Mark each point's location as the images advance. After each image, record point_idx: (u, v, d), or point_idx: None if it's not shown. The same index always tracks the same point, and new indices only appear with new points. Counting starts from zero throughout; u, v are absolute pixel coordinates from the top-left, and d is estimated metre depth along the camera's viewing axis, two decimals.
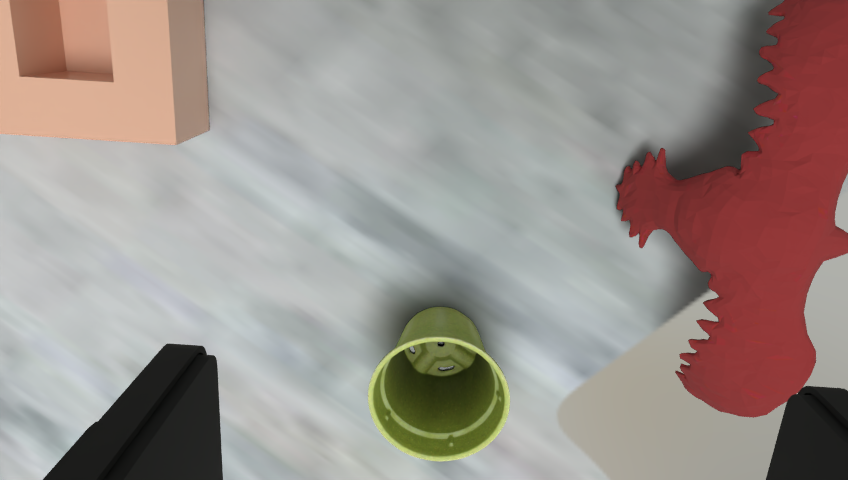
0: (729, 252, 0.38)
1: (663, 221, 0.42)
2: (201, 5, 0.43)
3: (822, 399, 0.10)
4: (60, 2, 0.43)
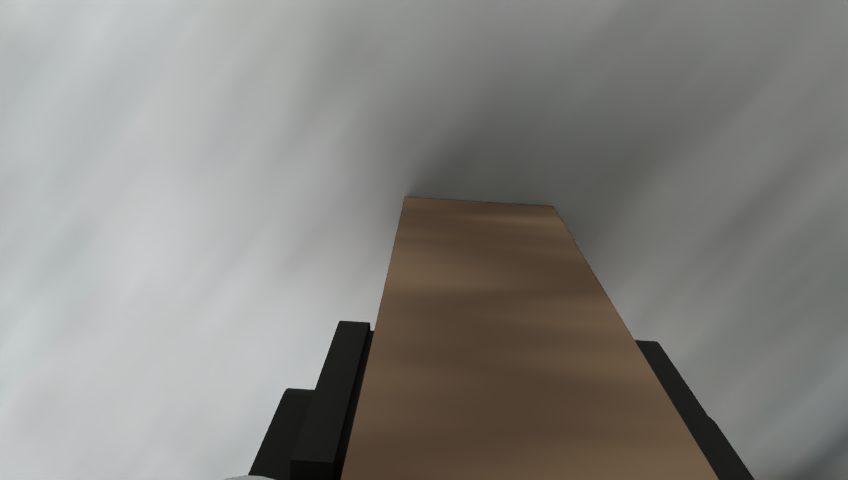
0: None
1: None
2: None
3: None
4: None
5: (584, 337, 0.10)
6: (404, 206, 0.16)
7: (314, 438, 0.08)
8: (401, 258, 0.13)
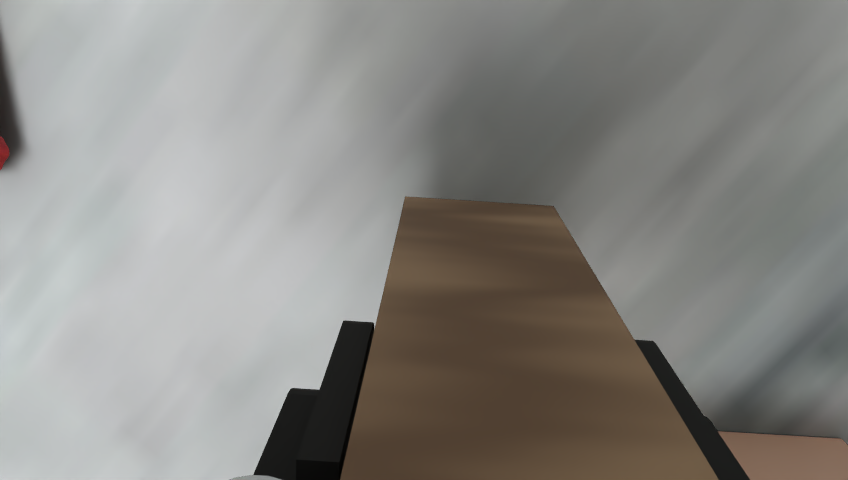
0: None
1: None
2: None
3: None
4: None
5: (584, 337, 0.10)
6: (404, 205, 0.17)
7: (319, 438, 0.08)
8: (401, 257, 0.13)
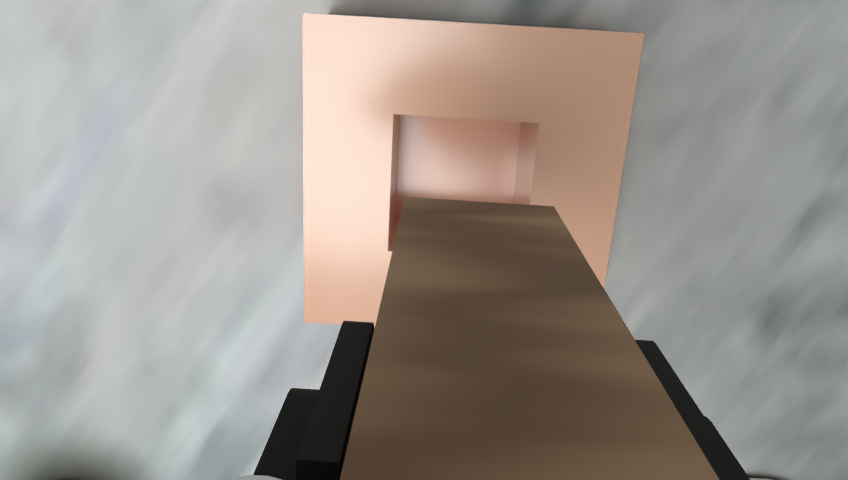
0: None
1: None
2: None
3: None
4: None
5: (585, 338, 0.10)
6: (404, 206, 0.16)
7: (319, 438, 0.08)
8: (401, 258, 0.13)
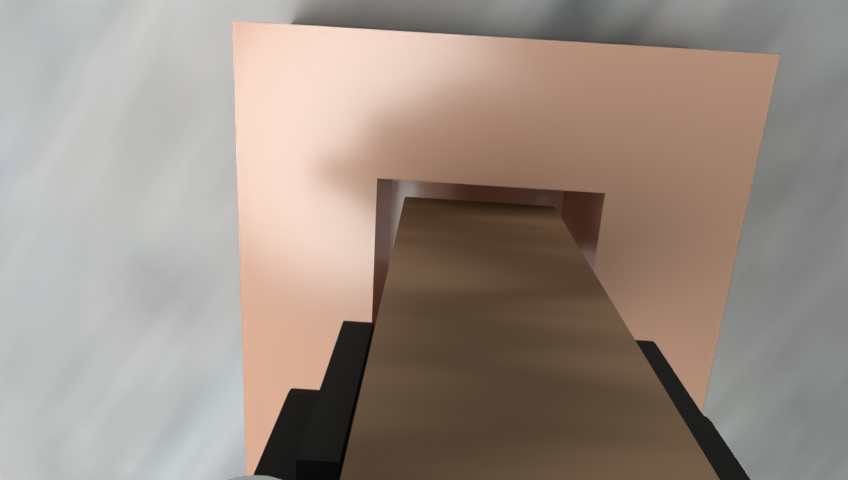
0: None
1: None
2: None
3: None
4: None
5: (585, 337, 0.10)
6: (404, 206, 0.16)
7: (320, 438, 0.08)
8: (401, 258, 0.13)
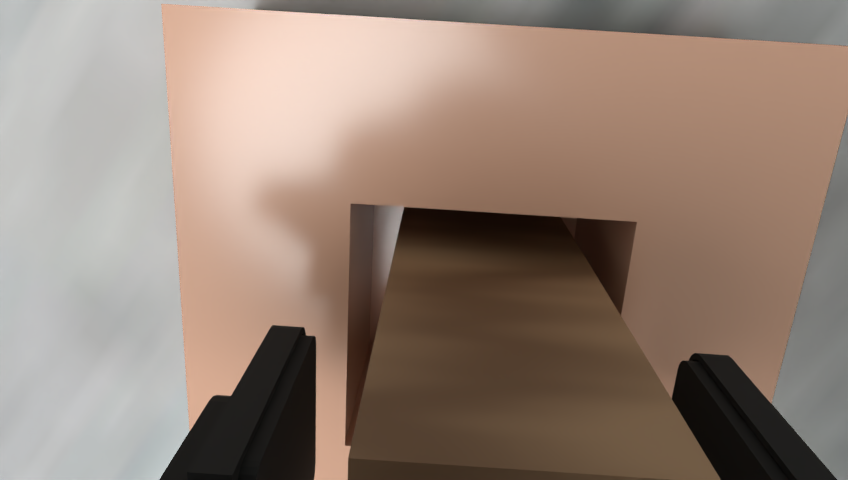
0: None
1: None
2: None
3: (705, 363, 0.10)
4: None
5: (574, 311, 0.11)
6: None
7: (217, 449, 0.08)
8: (405, 243, 0.14)
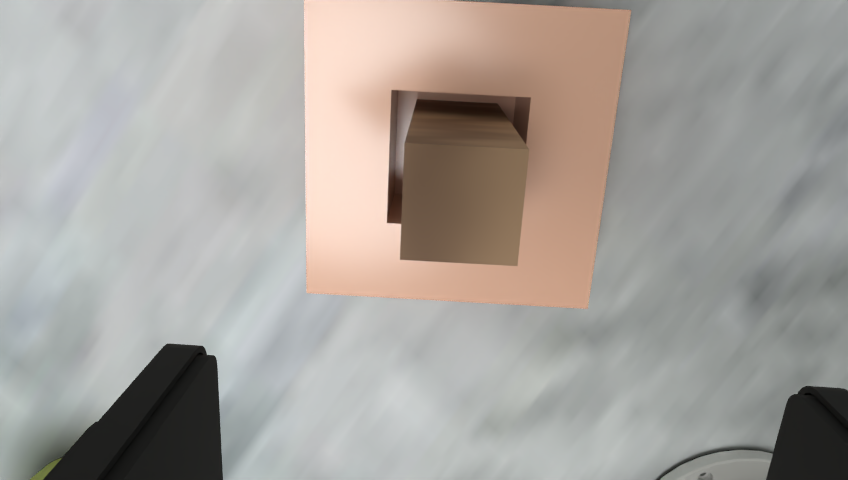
0: None
1: None
2: None
3: (822, 399, 0.09)
4: None
5: (494, 127, 0.25)
6: (417, 101, 0.31)
7: None
8: (418, 112, 0.27)
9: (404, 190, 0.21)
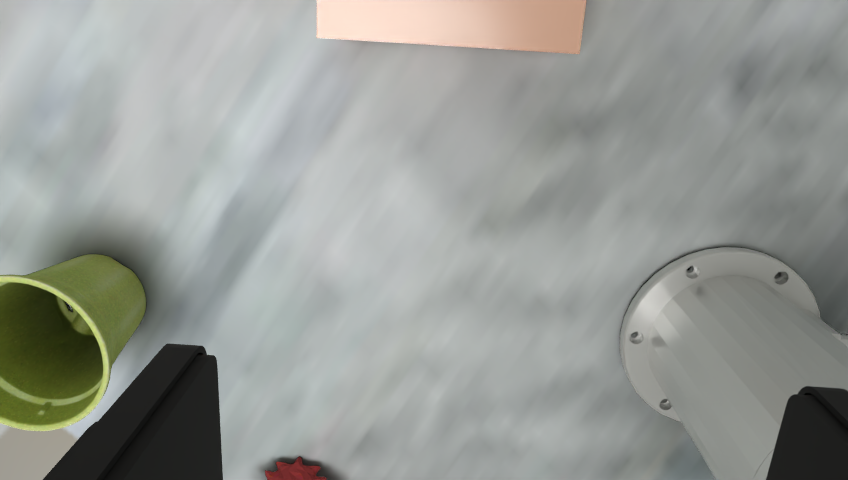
0: None
1: None
2: None
3: (822, 399, 0.10)
4: None
5: None
6: None
7: None
8: None
9: None
